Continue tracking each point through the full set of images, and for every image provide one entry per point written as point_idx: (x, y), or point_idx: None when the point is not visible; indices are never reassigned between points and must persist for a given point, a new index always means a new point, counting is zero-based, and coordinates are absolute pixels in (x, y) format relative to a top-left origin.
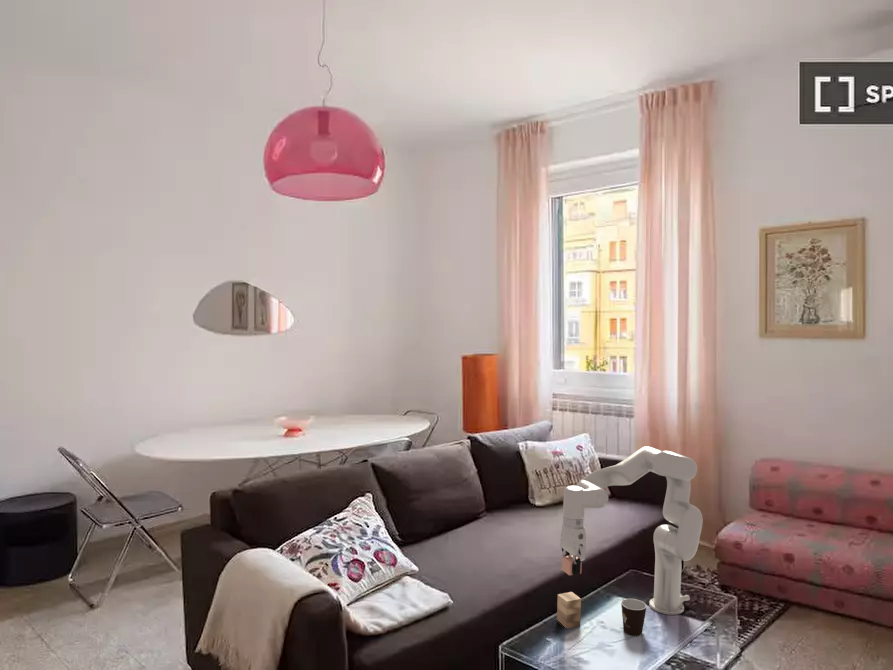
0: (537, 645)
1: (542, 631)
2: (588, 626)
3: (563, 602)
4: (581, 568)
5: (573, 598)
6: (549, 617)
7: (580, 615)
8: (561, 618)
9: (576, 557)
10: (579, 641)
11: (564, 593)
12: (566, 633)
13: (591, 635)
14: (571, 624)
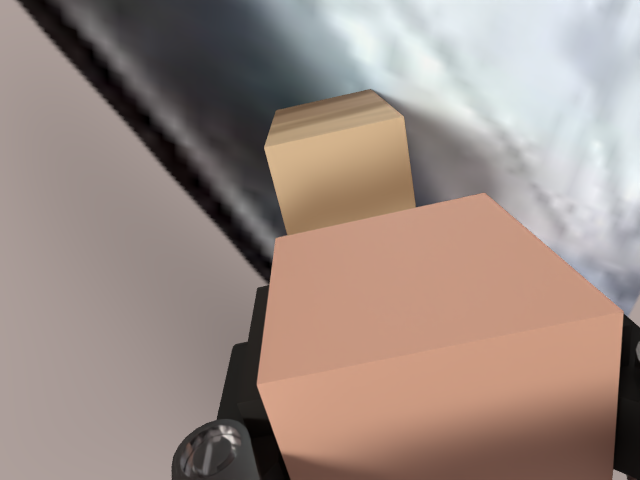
0: None
1: None
2: (388, 40)
3: None
4: (516, 221)
5: (383, 176)
6: (256, 224)
7: (380, 97)
8: None
9: (441, 381)
10: (520, 157)
11: (289, 216)
12: (430, 194)
13: (486, 65)
14: None
